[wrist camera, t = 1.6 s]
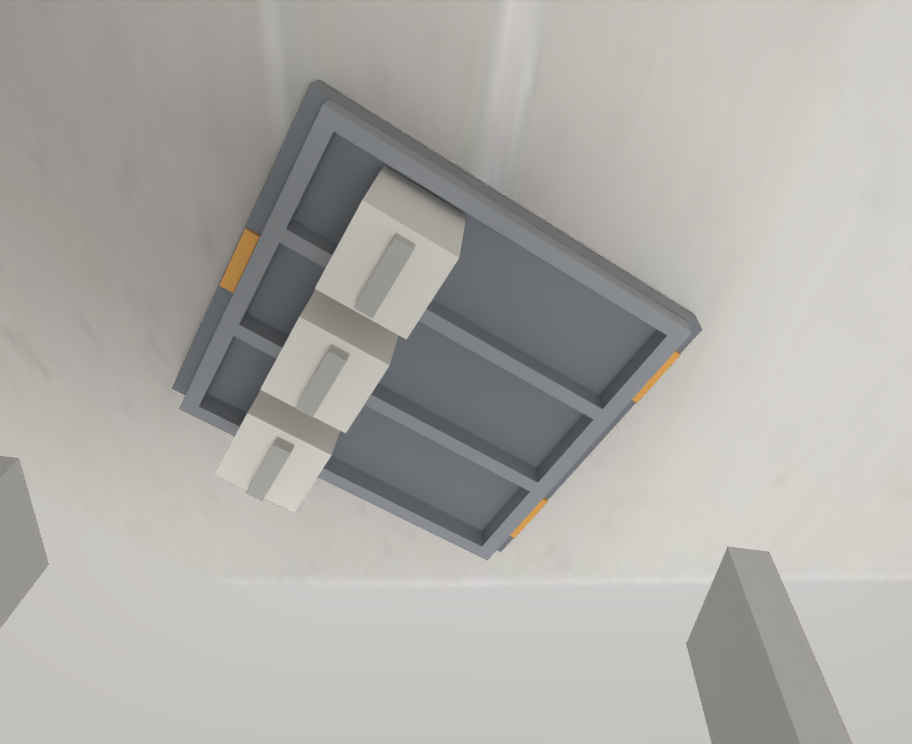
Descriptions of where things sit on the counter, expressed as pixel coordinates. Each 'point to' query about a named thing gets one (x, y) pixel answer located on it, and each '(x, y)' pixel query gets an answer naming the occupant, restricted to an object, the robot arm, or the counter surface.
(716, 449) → the counter surface
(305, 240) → the switch bank
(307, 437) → the tab
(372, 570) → the counter surface
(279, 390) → the tab
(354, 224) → the tab
